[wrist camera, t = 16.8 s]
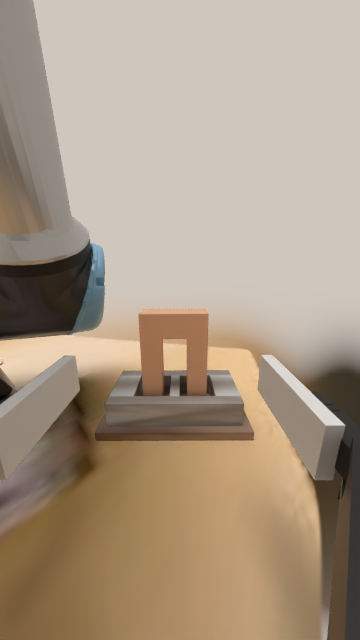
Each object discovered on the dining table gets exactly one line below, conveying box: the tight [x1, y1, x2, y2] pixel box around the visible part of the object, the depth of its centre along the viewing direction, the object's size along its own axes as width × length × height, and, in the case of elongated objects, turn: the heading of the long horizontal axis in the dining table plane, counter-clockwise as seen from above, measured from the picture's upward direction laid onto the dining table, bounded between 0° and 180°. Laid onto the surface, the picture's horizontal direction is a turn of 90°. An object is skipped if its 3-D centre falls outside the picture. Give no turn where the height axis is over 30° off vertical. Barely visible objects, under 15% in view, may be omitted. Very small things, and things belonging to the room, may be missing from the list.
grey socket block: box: [95, 370, 254, 440], centre depth 28 cm, size 10×18×4 cm, turn 90°
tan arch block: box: [139, 309, 208, 396], centre depth 26 cm, size 3×8×13 cm, turn 90°
